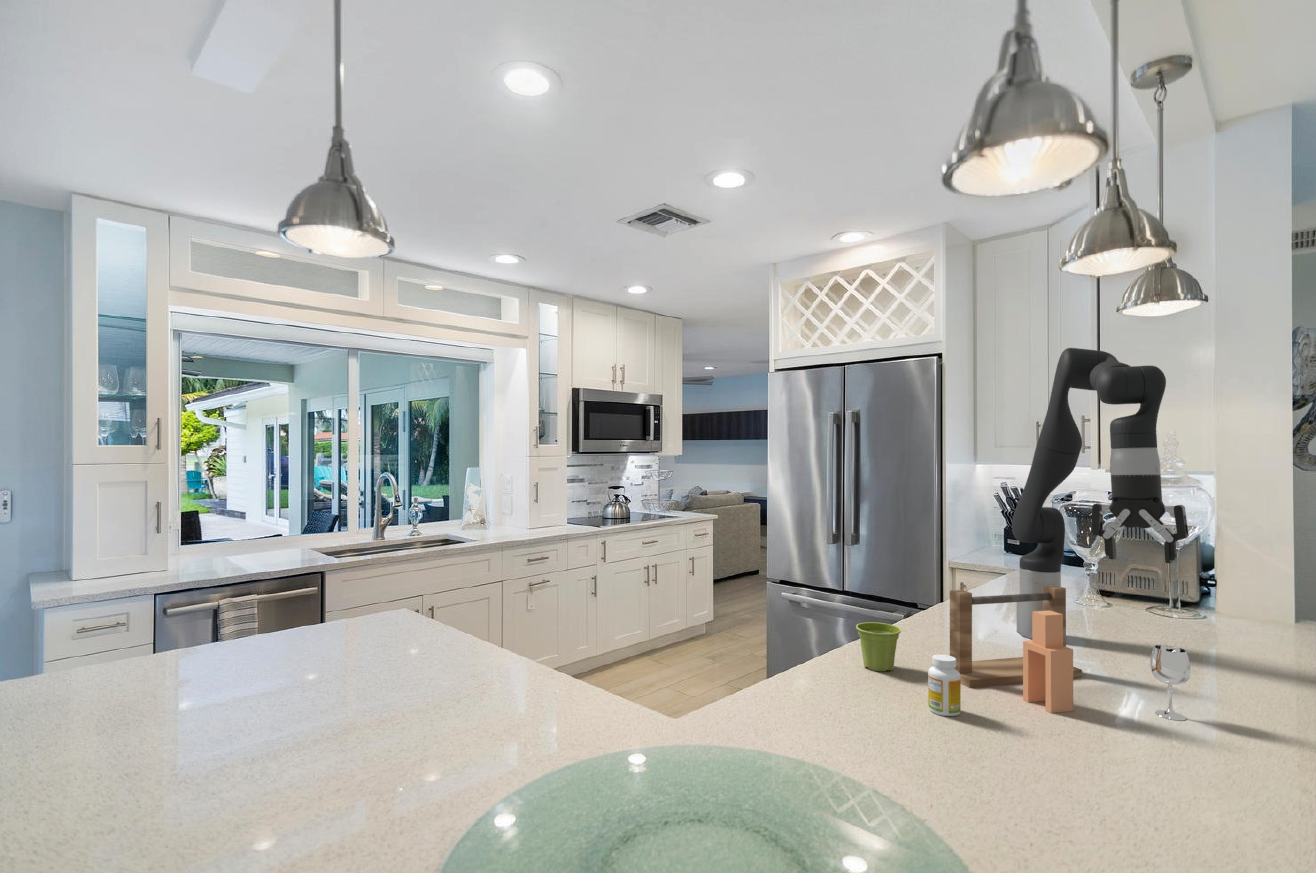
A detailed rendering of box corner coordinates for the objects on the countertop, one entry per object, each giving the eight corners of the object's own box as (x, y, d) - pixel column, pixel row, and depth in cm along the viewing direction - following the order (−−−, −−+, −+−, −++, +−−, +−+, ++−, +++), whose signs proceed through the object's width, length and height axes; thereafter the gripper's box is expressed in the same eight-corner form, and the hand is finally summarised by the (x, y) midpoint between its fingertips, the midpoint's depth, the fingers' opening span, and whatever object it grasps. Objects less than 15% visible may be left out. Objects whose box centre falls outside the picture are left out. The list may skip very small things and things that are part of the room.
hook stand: (936, 671, 141) (936, 587, 141) (1043, 661, 148) (1043, 582, 148) (969, 687, 131) (969, 597, 131) (1082, 676, 138) (1081, 591, 138)
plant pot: (853, 671, 140) (853, 630, 140) (857, 658, 149) (857, 620, 149) (900, 677, 137) (900, 635, 137) (901, 663, 145) (901, 624, 145)
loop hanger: (1023, 699, 125) (1023, 609, 125) (1044, 697, 126) (1044, 608, 126) (1050, 713, 118) (1050, 617, 119) (1073, 710, 120) (1073, 616, 120)
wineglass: (1185, 712, 119) (1184, 646, 120) (1195, 724, 114) (1195, 655, 114) (1146, 706, 122) (1146, 642, 122) (1155, 718, 117) (1154, 650, 117)
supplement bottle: (958, 707, 121) (958, 654, 121) (962, 718, 115) (962, 663, 116) (927, 703, 122) (927, 651, 123) (929, 714, 117) (929, 660, 117)
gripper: (1187, 472, 119) (1193, 562, 118) (1096, 473, 129) (1100, 556, 128) (1179, 472, 114) (1184, 566, 113) (1084, 473, 124) (1089, 559, 123)
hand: (1140, 560), depth 120 cm, fingers open, 8 cm apart
